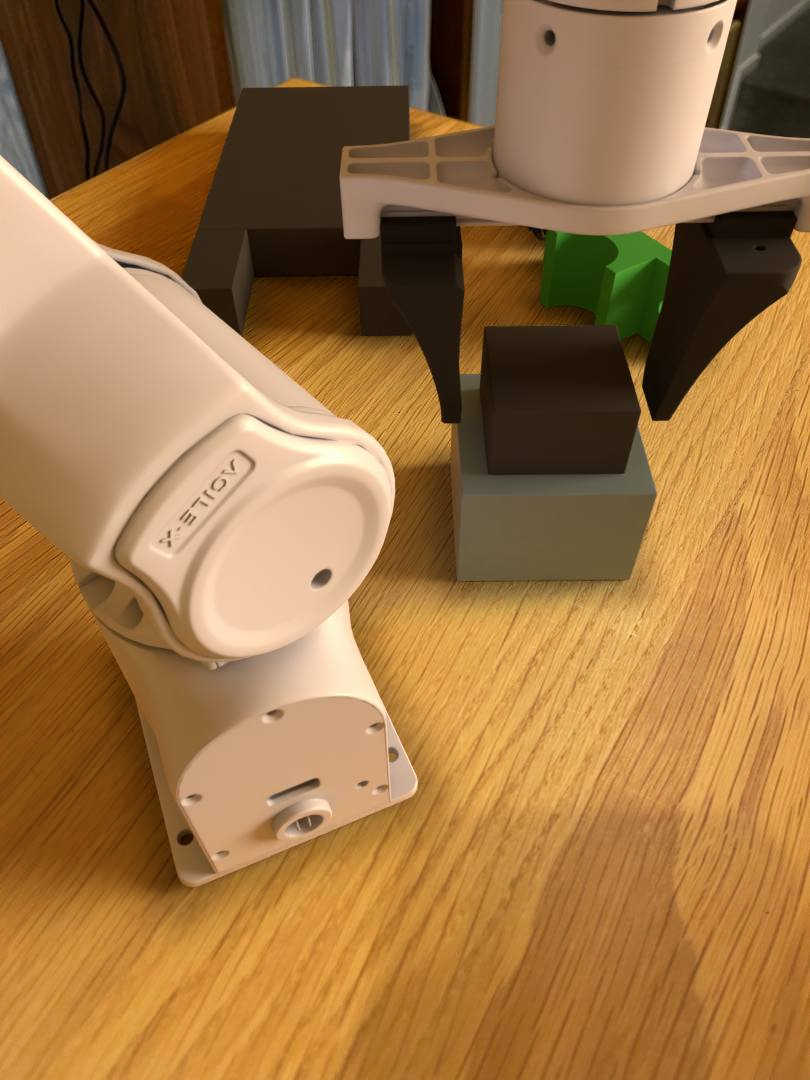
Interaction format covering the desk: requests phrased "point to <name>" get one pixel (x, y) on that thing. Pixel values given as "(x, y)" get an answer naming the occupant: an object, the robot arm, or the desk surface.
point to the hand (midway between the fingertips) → (552, 404)
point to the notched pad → (294, 198)
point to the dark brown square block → (556, 400)
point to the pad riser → (543, 512)
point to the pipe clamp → (607, 278)
